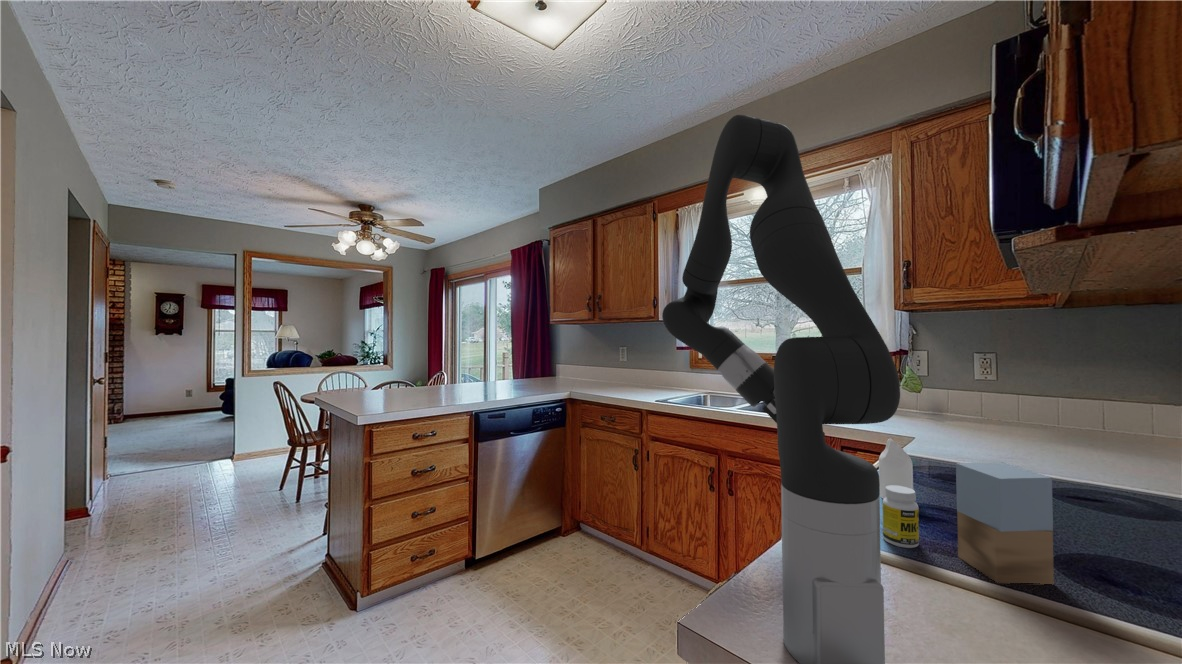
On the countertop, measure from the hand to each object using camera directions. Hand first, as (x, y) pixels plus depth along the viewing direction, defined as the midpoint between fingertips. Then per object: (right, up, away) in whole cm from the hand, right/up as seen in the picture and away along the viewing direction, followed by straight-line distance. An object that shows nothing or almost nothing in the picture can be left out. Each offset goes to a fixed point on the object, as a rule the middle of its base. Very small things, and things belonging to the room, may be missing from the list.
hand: (820, 443), depth 77 cm
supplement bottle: (+10, -14, -6) cm, 18 cm away
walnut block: (+18, -14, -14) cm, 27 cm away
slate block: (+18, -7, -14) cm, 24 cm away
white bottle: (+22, -14, +12) cm, 29 cm away
